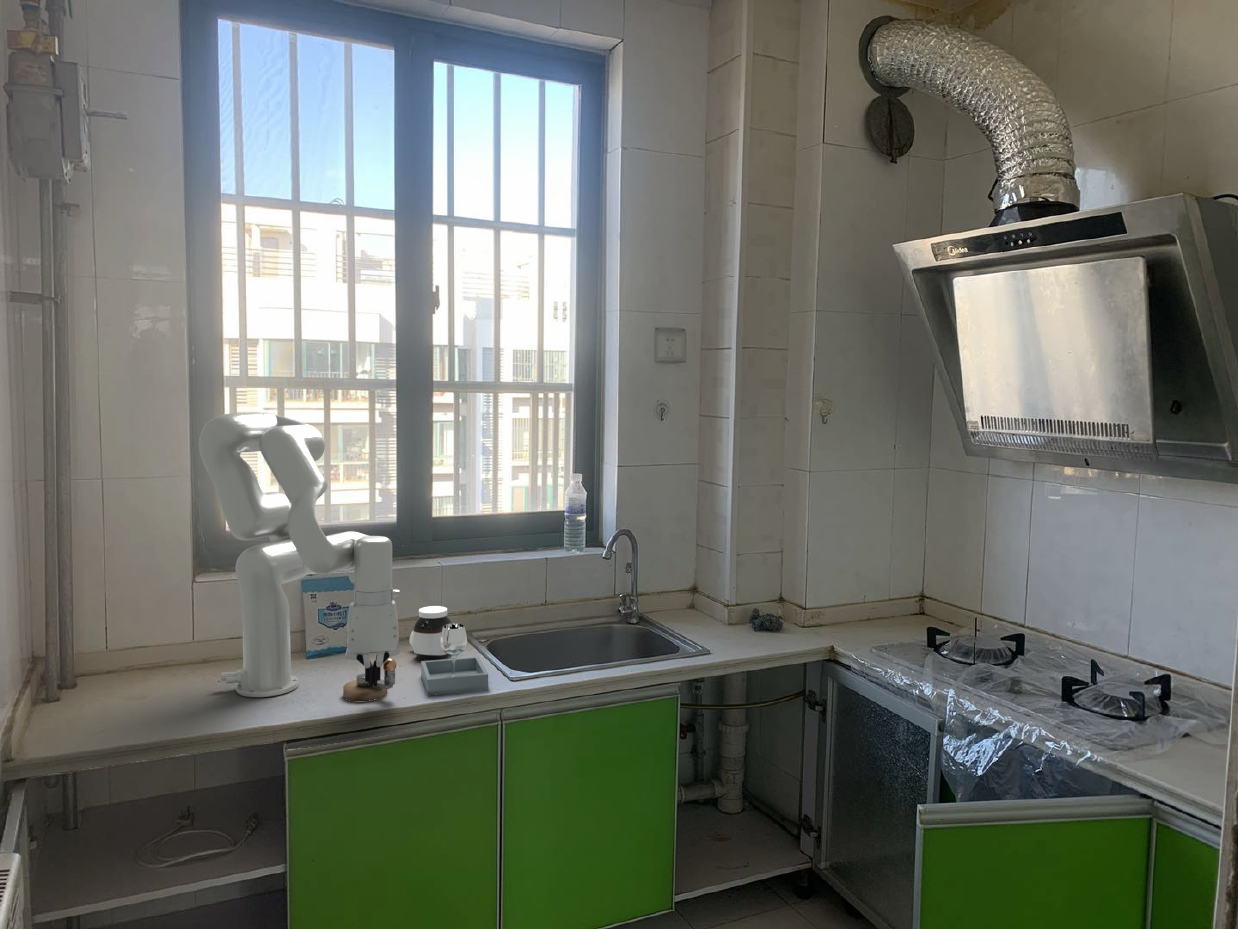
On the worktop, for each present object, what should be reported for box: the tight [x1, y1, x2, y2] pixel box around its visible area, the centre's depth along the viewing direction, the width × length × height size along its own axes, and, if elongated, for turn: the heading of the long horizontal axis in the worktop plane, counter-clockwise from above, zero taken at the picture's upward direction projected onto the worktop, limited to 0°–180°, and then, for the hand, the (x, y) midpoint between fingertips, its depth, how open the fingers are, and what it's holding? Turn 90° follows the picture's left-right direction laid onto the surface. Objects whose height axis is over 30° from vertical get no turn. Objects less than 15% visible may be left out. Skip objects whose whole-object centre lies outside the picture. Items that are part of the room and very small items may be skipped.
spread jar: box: [409, 605, 453, 661], centre depth 214 cm, size 12×11×12 cm
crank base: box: [342, 678, 388, 702], centre depth 186 cm, size 9×9×2 cm
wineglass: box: [440, 623, 468, 677], centre depth 194 cm, size 6×6×12 cm
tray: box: [420, 656, 489, 696], centre depth 194 cm, size 13×13×4 cm
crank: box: [356, 657, 397, 691], centre depth 184 cm, size 10×4×7 cm, turn 60°
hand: (372, 684), depth 180 cm, fingers closed
